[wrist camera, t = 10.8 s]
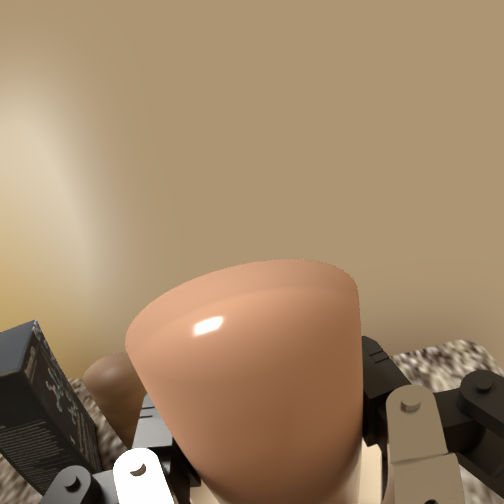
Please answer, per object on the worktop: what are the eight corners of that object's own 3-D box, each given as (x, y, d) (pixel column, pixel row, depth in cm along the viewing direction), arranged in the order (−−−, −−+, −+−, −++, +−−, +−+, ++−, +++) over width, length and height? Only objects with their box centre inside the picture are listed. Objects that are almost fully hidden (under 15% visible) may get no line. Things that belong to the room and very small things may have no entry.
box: (109, 486, 14) (18, 368, 11) (47, 502, 12) (-49, 391, 9) (95, 420, 21) (36, 315, 18) (45, 437, 19) (-19, 337, 16)
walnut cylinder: (124, 461, 17) (74, 392, 15) (133, 424, 21) (93, 356, 19) (175, 458, 17) (131, 387, 15) (179, 419, 21) (144, 348, 19)
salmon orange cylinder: (244, 563, 7) (95, 401, 4) (234, 474, 12) (149, 286, 9) (373, 532, 7) (408, 328, 4) (338, 449, 12) (315, 245, 9)
